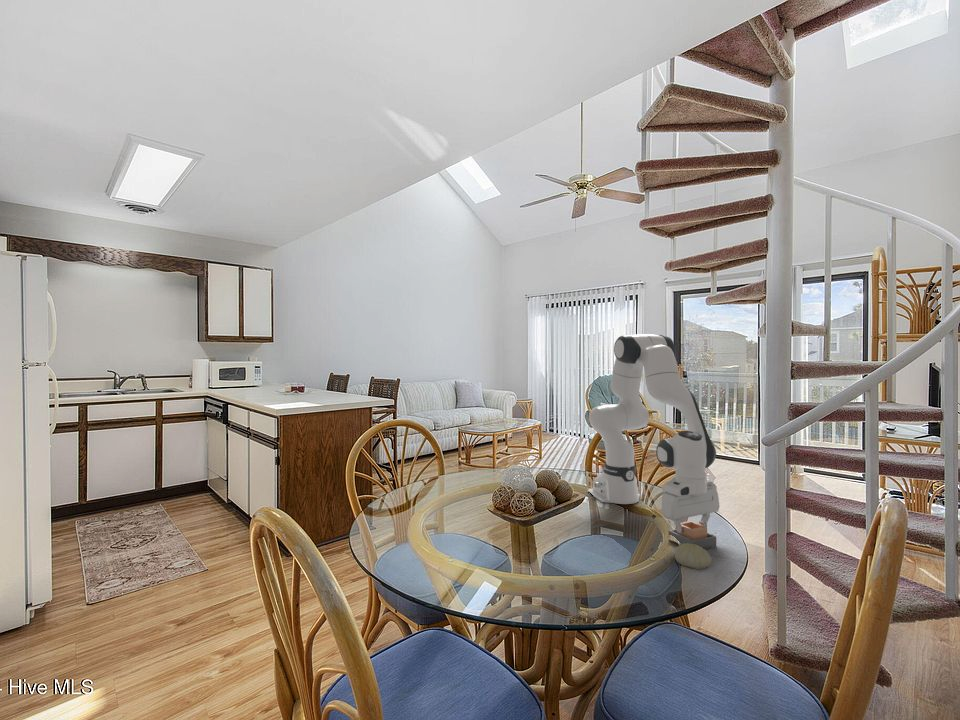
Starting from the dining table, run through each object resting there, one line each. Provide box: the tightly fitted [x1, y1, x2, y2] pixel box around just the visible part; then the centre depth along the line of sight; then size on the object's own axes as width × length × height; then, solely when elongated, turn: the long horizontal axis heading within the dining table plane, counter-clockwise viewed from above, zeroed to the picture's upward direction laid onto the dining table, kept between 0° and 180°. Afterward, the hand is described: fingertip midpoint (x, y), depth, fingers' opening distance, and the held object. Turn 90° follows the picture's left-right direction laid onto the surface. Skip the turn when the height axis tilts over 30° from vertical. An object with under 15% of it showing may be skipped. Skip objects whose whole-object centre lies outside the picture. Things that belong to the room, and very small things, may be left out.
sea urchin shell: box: [674, 543, 712, 570], centre depth 123 cm, size 9×8×8 cm
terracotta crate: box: [677, 520, 708, 541], centre depth 136 cm, size 6×6×5 cm
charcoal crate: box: [668, 528, 717, 550], centre depth 137 cm, size 9×9×3 cm
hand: (691, 529), depth 137 cm, fingers open, 8 cm apart
